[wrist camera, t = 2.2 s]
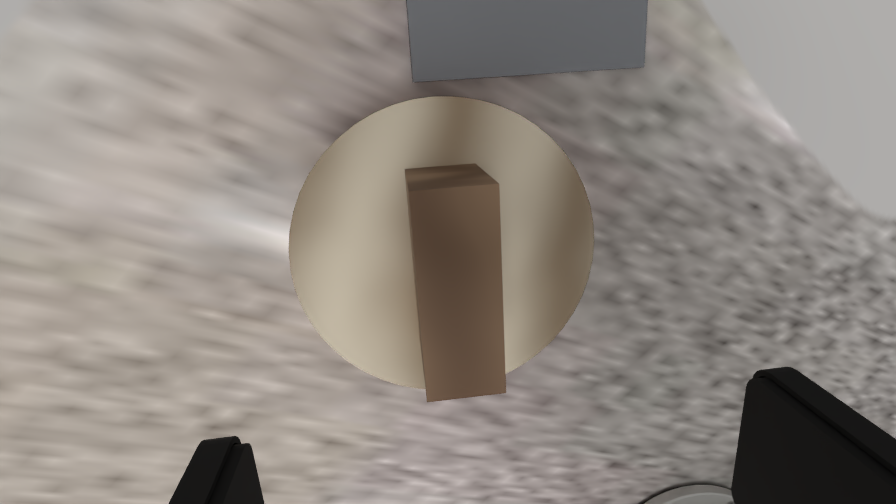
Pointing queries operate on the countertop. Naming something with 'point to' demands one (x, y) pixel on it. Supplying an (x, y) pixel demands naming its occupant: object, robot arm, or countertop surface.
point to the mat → (523, 37)
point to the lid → (441, 244)
